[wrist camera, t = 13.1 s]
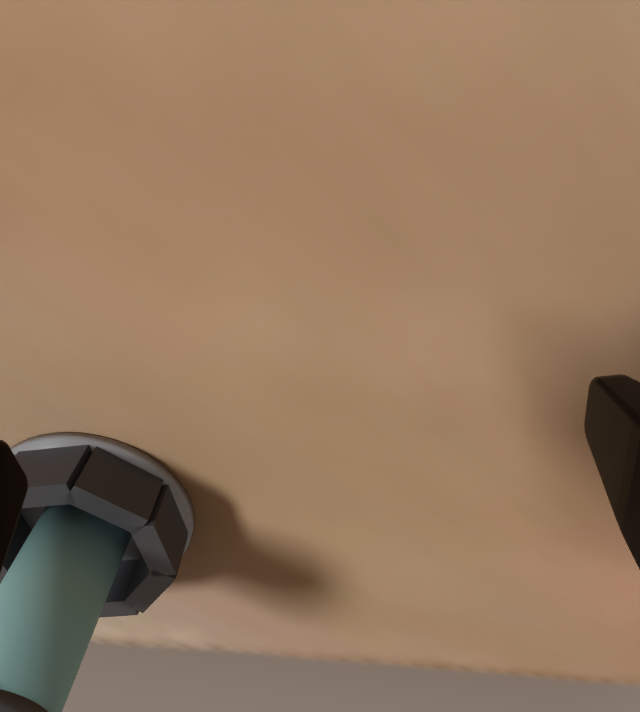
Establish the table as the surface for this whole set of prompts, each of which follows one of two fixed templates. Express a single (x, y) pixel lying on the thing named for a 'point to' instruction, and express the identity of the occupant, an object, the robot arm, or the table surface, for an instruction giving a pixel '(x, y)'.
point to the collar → (110, 508)
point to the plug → (54, 605)
